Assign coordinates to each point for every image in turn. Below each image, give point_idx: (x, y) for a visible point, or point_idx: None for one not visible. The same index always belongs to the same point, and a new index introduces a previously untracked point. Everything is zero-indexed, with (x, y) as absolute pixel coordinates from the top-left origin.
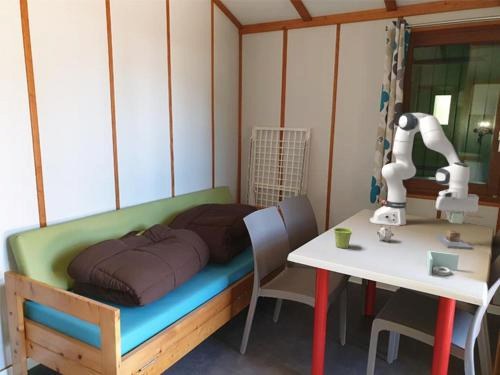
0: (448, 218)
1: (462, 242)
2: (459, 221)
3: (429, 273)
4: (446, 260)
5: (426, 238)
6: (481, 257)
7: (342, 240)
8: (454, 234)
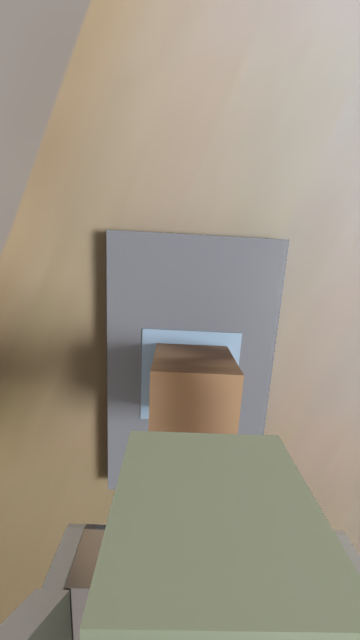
0: (342, 533)
1: (132, 349)
2: (171, 451)
3: None
4: None
5: (320, 447)
6: (122, 19)
7: None
8: (203, 367)
